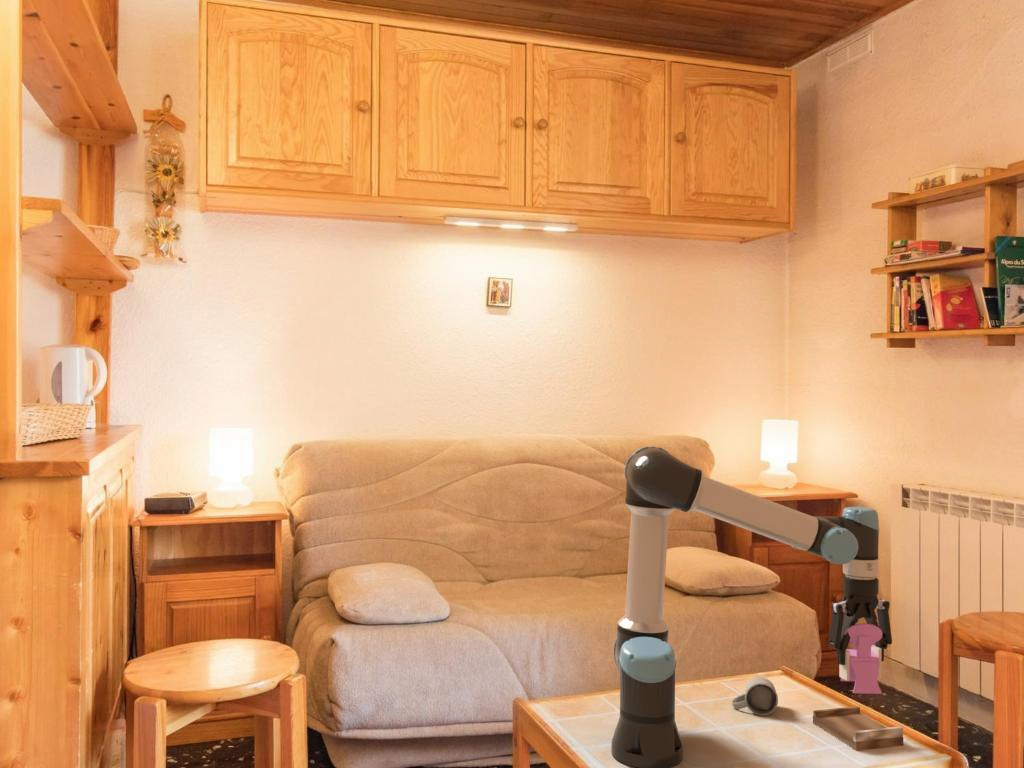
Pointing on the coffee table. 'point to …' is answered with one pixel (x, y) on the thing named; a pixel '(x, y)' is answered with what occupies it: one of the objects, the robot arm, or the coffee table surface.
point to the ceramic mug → (758, 697)
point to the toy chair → (864, 658)
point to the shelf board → (857, 728)
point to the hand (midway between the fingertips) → (860, 677)
